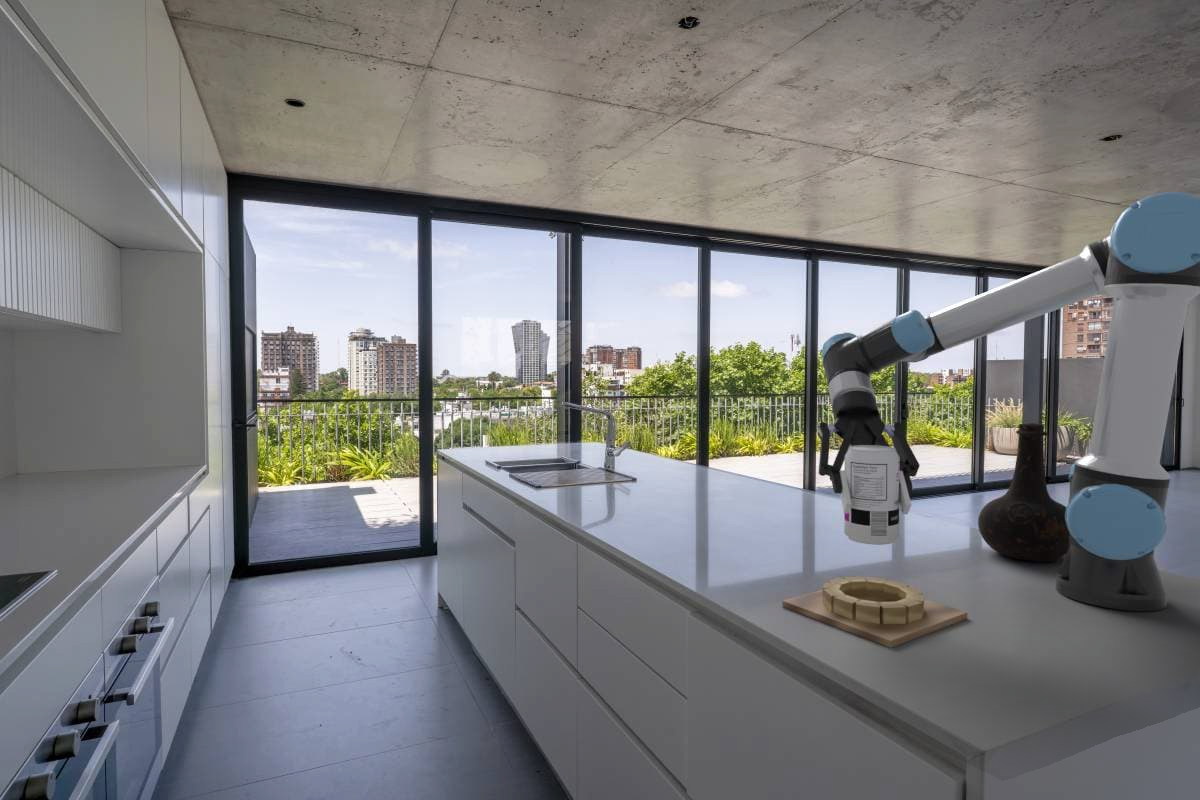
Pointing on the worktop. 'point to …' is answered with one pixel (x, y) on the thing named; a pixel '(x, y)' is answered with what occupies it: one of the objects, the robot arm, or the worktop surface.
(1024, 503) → the dark vase
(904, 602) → the hub seat
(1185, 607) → the worktop surface
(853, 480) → the supplement can
